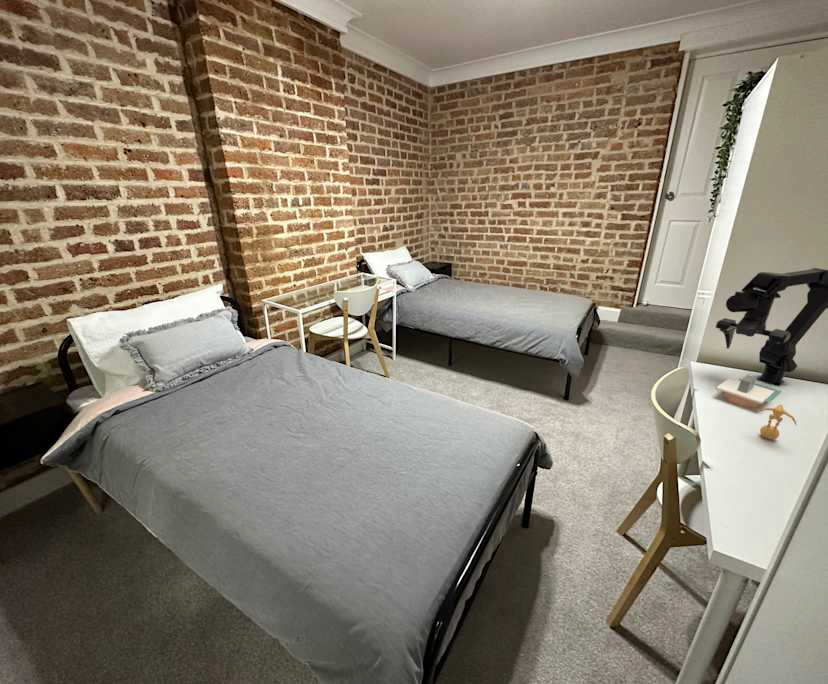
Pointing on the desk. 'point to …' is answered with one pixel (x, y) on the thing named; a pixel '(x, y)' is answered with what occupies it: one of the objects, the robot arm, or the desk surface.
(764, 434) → the figurine
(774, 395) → the mat
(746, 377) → the lid
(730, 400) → the bowl
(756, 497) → the desk surface
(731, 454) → the desk surface
